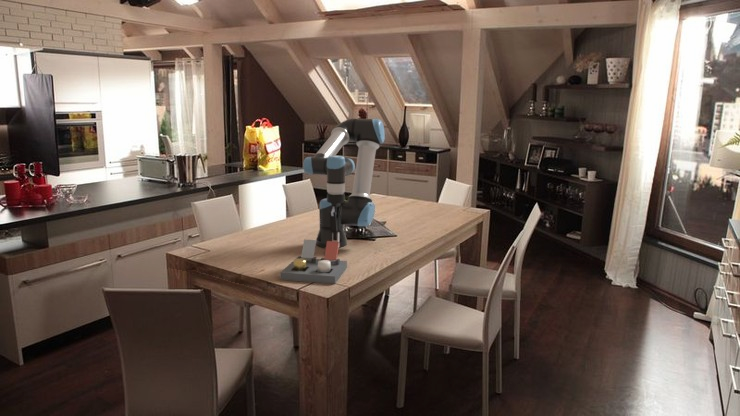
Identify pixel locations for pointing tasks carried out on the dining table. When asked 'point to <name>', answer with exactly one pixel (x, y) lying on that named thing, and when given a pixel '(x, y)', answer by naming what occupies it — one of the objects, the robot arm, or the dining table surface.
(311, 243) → the paddle grey
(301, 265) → the button brass
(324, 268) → the button white
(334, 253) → the paddle red
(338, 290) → the dining table surface
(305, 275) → the panel
